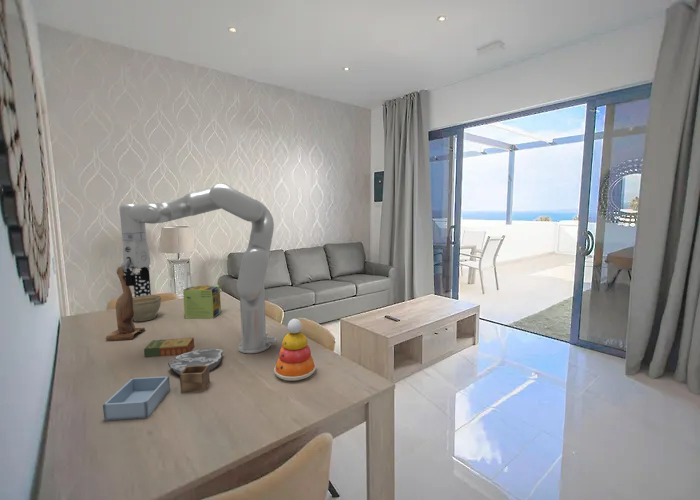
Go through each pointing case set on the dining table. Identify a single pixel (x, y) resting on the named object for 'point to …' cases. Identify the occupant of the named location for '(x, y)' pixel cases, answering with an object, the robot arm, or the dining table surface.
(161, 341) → the carton
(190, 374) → the walnut crate
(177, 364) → the brain slice
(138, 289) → the spotted tube
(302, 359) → the stacking toy
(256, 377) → the dining table surface
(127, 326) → the bird sculpture
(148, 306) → the planter bowl
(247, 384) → the dining table surface
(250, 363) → the dining table surface
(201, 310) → the protein box
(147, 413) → the blue tray
